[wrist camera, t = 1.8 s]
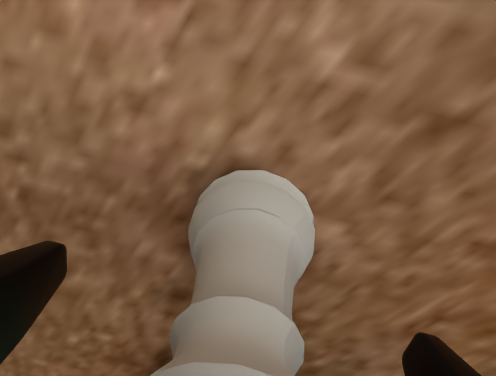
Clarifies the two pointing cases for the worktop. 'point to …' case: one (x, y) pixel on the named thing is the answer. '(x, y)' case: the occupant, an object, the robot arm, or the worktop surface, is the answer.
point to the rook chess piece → (244, 279)
